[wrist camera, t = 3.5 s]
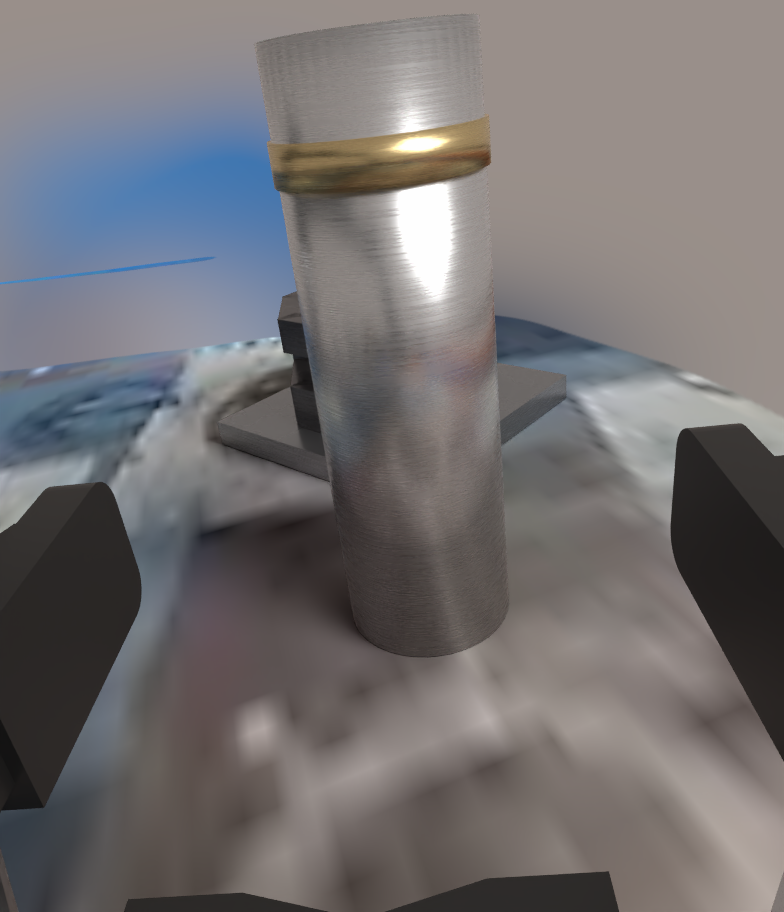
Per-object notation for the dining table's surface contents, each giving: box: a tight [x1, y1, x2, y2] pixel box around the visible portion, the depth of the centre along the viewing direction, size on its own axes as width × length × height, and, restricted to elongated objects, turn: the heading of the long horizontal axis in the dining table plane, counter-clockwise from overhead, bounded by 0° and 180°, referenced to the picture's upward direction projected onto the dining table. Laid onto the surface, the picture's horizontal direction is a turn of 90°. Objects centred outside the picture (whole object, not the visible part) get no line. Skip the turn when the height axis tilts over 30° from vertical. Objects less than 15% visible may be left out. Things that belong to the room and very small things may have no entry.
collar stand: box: [217, 291, 566, 481], centre depth 35 cm, size 12×12×6 cm
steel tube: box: [254, 14, 509, 657], centre depth 20 cm, size 5×5×16 cm
